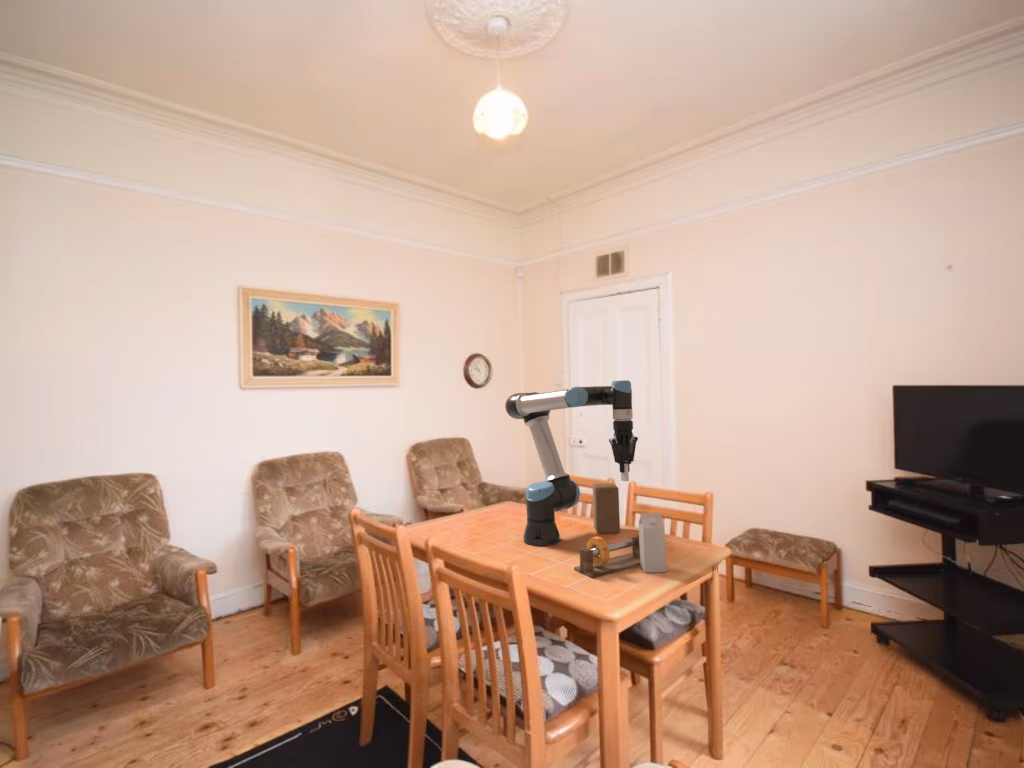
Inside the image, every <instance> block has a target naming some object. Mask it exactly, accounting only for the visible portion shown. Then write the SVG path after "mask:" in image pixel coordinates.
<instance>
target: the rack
mask: <svg viewBox="0 0 1024 768" xmlns="http://www.w3.org/2000/svg"><path fill="white" fill-rule="evenodd" d="M633 539H636V540H637V543H638V544H637V545H636V546H632V547H631V548H632V552H628V553H626V554H621V555H618V556H617V555H616V556H613V557H610V558H609V561H608V562H607V563H606V565H603V566H596V565H594V564H593V550H591V549H589V548H587V547H583V548H580V549H579V565H578V566H574V567H573V569H574V571H575V572H577V573H579V574H582V575H584V576H586V577H589V578H590V579H595V578H600V577H604V576H608V575H611V574H614V573H615V574H616V573H619V572H622V571H626V570H630V569H633V568H637V567H641V566H640V544H639V535H636V536H632V537H631V540H633Z"/></svg>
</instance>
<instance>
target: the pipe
mask: <svg viewBox="0 0 1024 768" xmlns="http://www.w3.org/2000/svg"><path fill="white" fill-rule="evenodd" d="M637 544H638V543H637V540H636V539H633V540H632V539H630V540H624V541H622V542H621V541H620V542H617V543H612V544H607V545H608V548H607V549H609V552H615V551H619V550H623V549H627V548H632V546H636V545H637ZM591 550H593V556H595V555H596V556H597V555H598V556H600V550H599V549H598V547H597V546H596V548H594V549H591Z"/></svg>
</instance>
